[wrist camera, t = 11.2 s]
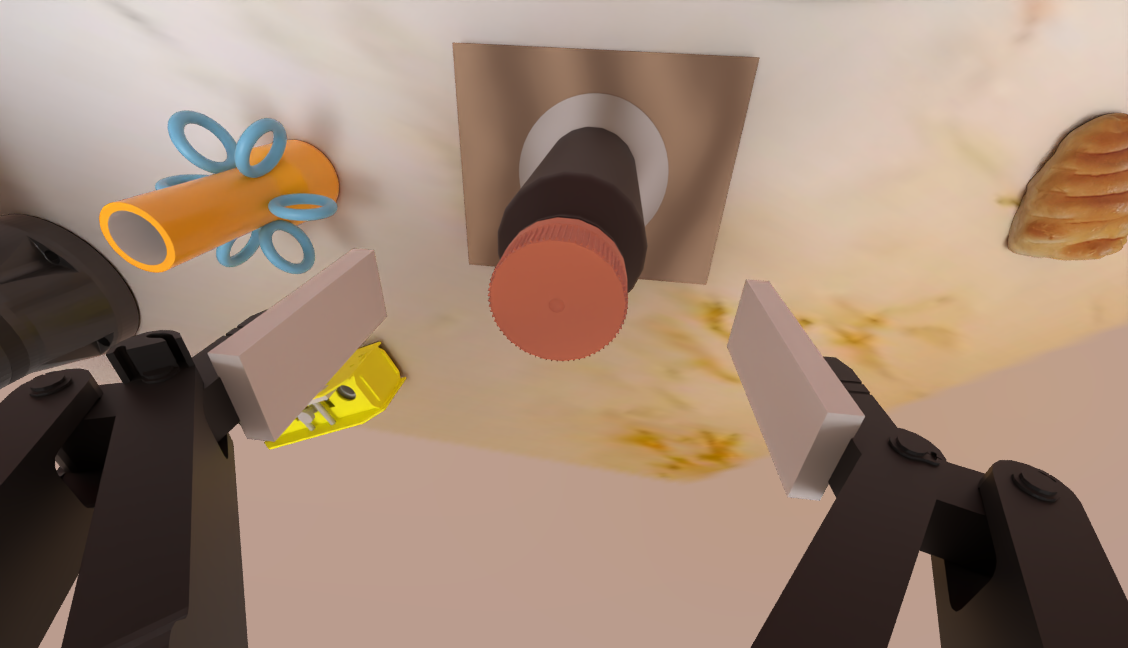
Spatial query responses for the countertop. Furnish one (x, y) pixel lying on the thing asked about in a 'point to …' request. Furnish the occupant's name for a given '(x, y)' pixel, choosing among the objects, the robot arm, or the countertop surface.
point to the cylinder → (226, 201)
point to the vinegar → (570, 248)
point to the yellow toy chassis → (347, 397)
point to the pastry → (1078, 196)
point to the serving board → (620, 105)
